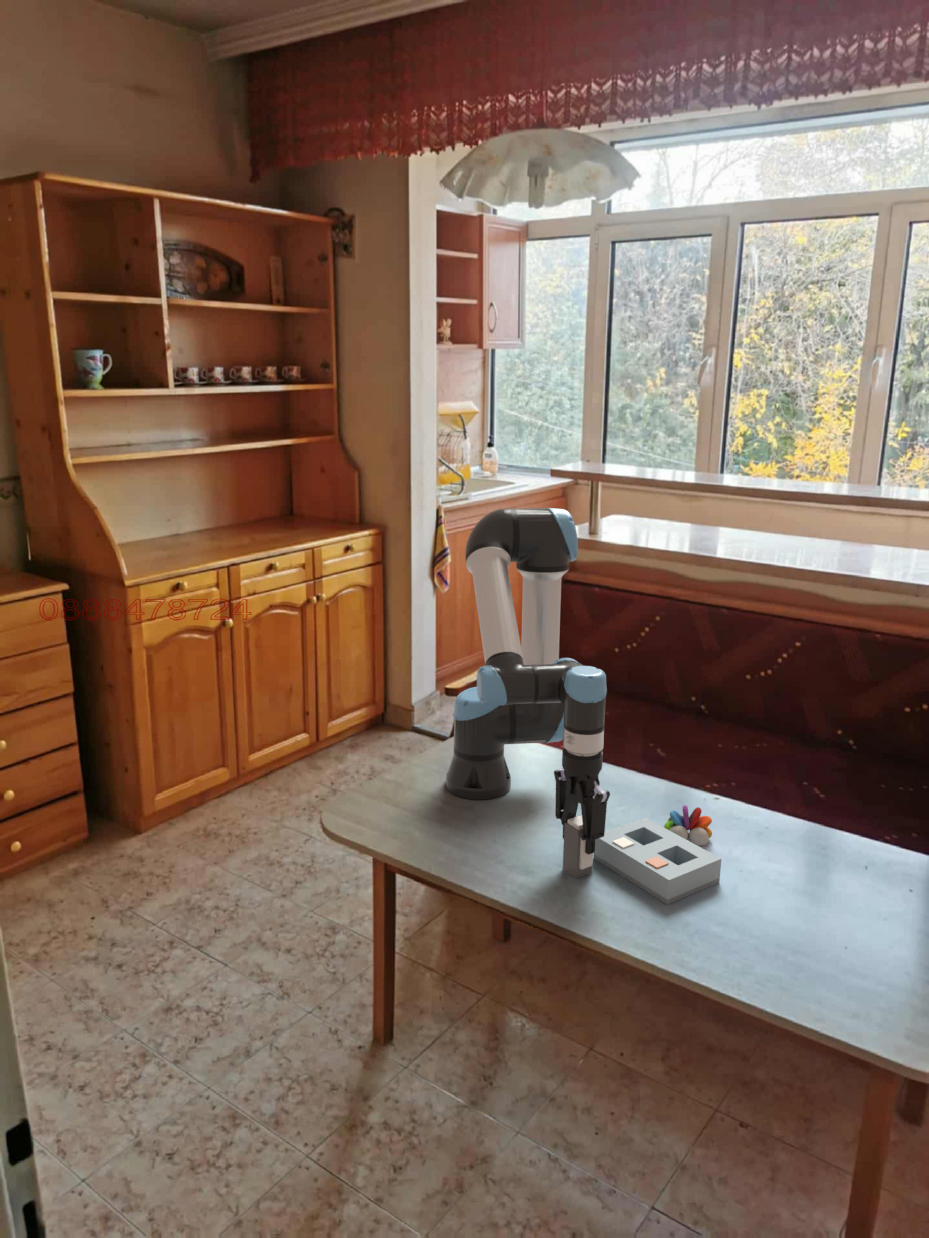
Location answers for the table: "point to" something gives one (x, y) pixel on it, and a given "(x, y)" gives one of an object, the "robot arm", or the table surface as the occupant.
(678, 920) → the table surface
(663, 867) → the socket box
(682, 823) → the rainbow petal fan toy
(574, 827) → the plug
